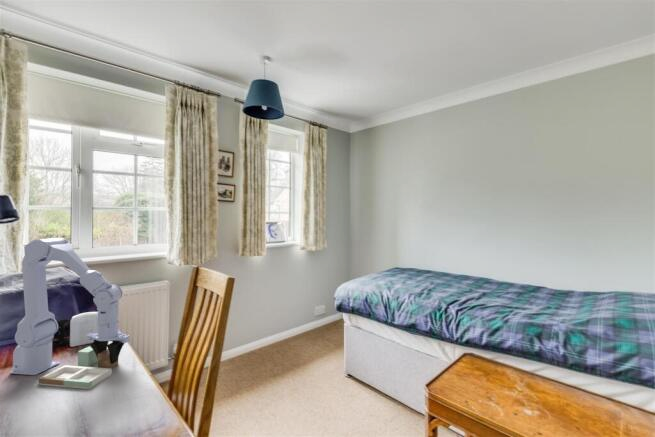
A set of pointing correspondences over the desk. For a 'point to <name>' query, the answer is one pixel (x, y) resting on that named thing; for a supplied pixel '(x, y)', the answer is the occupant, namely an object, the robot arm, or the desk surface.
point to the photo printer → (83, 328)
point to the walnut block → (105, 360)
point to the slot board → (75, 376)
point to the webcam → (62, 333)
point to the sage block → (87, 357)
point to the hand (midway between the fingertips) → (108, 361)
